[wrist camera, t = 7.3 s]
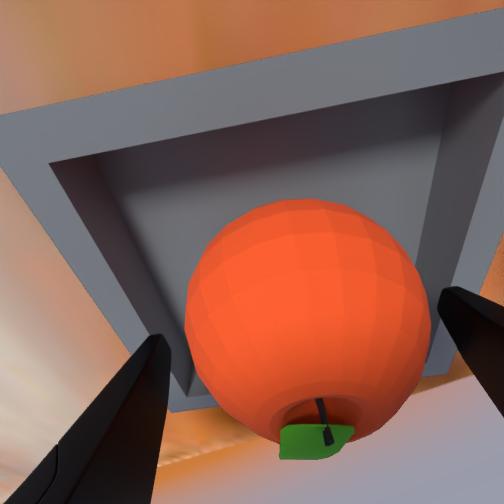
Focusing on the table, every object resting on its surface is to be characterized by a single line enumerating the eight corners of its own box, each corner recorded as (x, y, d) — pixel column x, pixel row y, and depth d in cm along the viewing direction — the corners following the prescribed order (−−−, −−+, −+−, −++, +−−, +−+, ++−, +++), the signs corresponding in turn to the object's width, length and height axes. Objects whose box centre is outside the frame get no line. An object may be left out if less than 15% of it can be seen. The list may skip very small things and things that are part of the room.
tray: (487, 13, 8) (600, -14, 6) (413, 326, 16) (447, 373, 13) (45, 107, 9) (-31, 121, 6) (181, 361, 17) (171, 413, 14)
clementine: (336, 325, 14) (403, 510, 8) (202, 320, 14) (170, 511, 8) (396, 174, 10) (634, 340, 4) (199, 157, 9) (118, 319, 3)
